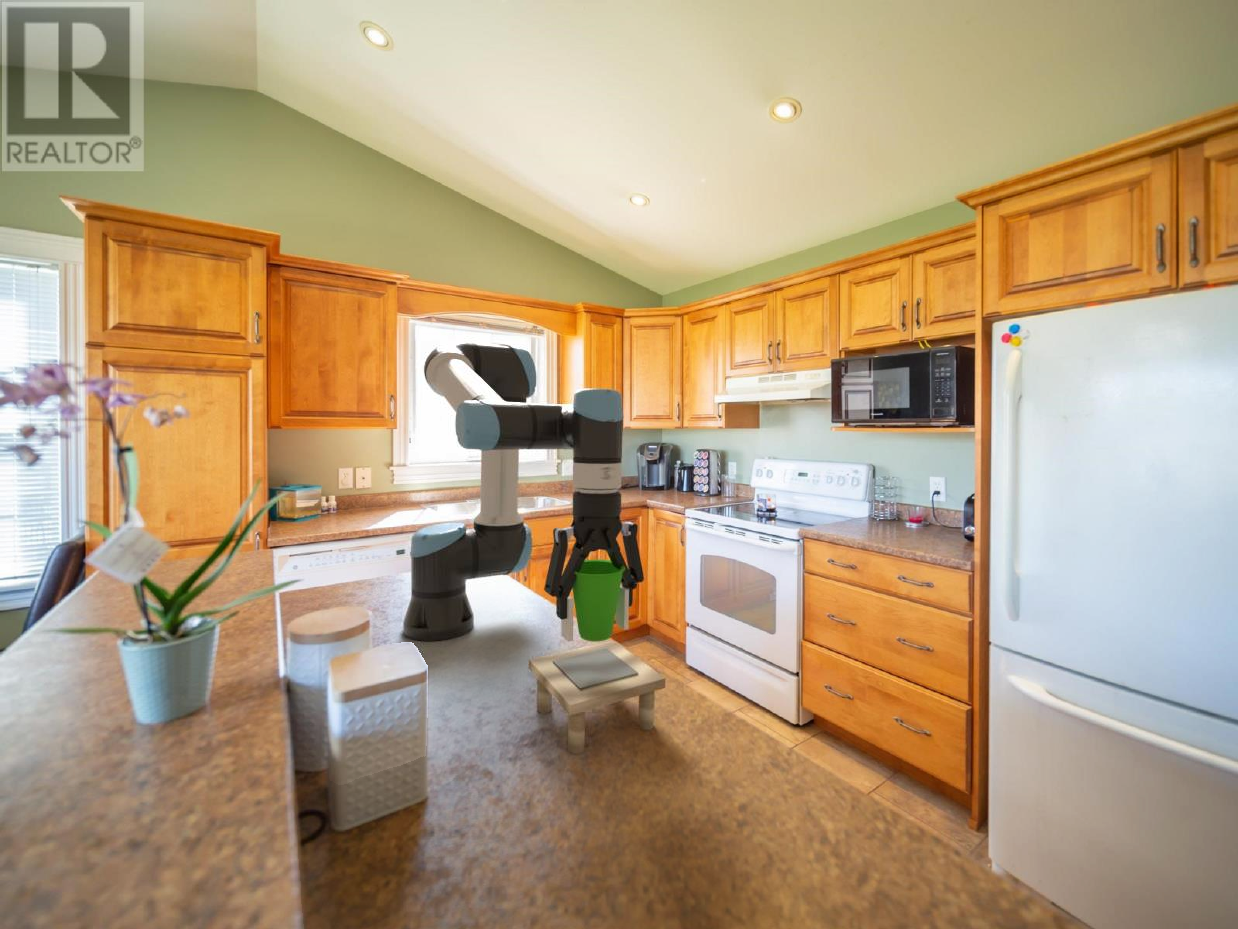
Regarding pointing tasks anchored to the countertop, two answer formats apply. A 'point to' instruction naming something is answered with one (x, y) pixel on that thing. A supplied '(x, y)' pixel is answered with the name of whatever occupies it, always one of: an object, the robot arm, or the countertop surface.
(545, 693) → the stool
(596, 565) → the cup
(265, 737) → the countertop surface
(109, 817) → the countertop surface
